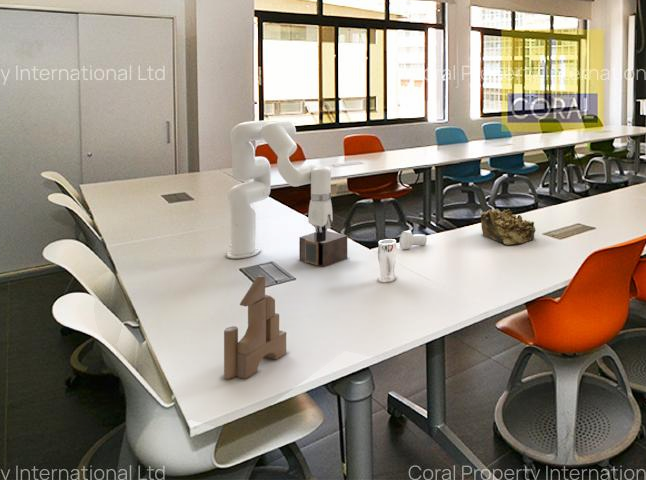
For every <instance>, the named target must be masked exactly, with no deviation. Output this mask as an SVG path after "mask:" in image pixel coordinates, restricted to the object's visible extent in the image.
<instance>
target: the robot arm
mask: <svg viewBox="0 0 646 480" xmlns="http://www.w3.org/2000/svg"><path fill="white" fill-rule="evenodd" d="M296 133H297V129H296V126H295V125H294V123H293V122H291V121H289V120H279V119H264V120H252V121H244V122H241V123H238V124H236V125H235V126H234V127H233V128H232V129H231V131H230V143H231V148H232V157H231V158H232V160H231V161H232V162H231V163H232V167H231V168H232V169H231V170H232V177H233V179H234V180H236V181H237V182H241V181H244V182H242V183H238V184H236V185H234V186H232V187H231V188H230V189H229V191H228V193H227V200H228V202H229V208H230V244H228V247H229V248H230V250H229V251H228V252H227V253H226V258H228V259H237V260H238V259H245V258H246V259H247V258H250V257H254V256H256V255H258V254H259V253H260V252H261V250H260V248H259V247H257V246H256V245H257V243H256V238H257V237H256V235H257V234H256V233H257V231H256V230H257V229H256V228H257V225H256V224H257V223H256V220H257V219H256V211H255V209H254V207H253V206H252V204H254V203H257V202H261V201H264V200H266V199H268V198H269V196H270V194H271V188H272V187H271V186H272V185H271V183H272V181H271V180H272V168H271V164H270V160H268V158H267V157H265V156H262V155H261V156H256V155H255V151H256V149H255V147H254V144H253V143H252V141H262V140H264V142H266V144H267V145H268V146H269V147H270V149H271V150H272V151H273V152H274V154H275V155H276V156H277V161H276V165H277V171H278V174H279V176H281V178H282V179H283V180H284V181H285V182H286V183H287V185H289V186H291V187H300V186H305V185H309V184H310V197H311V198H310V200H309V206H308V215H307V216H308V219H307V220H308V221H307V222H308V224H310V225H311V226H312V227H314V229H315V232H317V242H322V241H325V240H326V231H328V229H331V228H332V223H333V217H334V216H333V205H332V200H331V199H332V191H331V190H332V188H331V187H332V186H331V185H332V182H331V181H332V180H331V178H332V172H331V171H332V170H331V168H330V167H329V166H318V165H315V164H310V165H309V164H308V165H304V166H298V167H295V165H293V164H292V162H291V160H290V157H291V156H292V155H294V153H295V152H296V151H297V149H298V145H297V143H296V142H295V141H294V140H293V138H294V137H295V136H296ZM248 180H252V181H248ZM245 181H247V182H245Z"/></svg>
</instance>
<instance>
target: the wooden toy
mask: <svg viewBox="0 0 646 480" xmlns="http://www.w3.org/2000/svg"><path fill="white" fill-rule="evenodd" d="M239 306H243V307H247V329H246V331H245V334H244V335H243V336H242V337H241V339H240V340H239V328H238V326H233V325H232V326H228V327H226V328H225V329H224V331H223V377H224V379H226V380H230V379H233V378H235V377H238V378H241V379H245V380H247V379H248V378H250V377H252V376H253V375H255V374H256V373H258V369H259V366H260V363H261V361H262V360H263V358H268V359H272V360H278V359H280V358H281V357H284V355H286V354H287V331H286V330H285V331H284V330H280V313H277V312H276V299H275V298H274V297H272V296H271V295H268V294H266V277H265V276H263V275H257V276H256V277H255V279H254V280H253V282H252V284H251V285H250V287H249V288H248V290H247V292H246V293H245V295H244V297H243V298H242V300H240V303H239Z"/></svg>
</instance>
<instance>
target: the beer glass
mask: <svg viewBox="0 0 646 480" xmlns="http://www.w3.org/2000/svg"><path fill="white" fill-rule="evenodd" d="M377 259H378V266H379V278H378V281H379V282H380V283H391V282H394V281H396V273H395V267H396V266H395V265H396V261H397V240H396V239H392V238H386V239H381V240H379V241H378V246H377Z"/></svg>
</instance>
